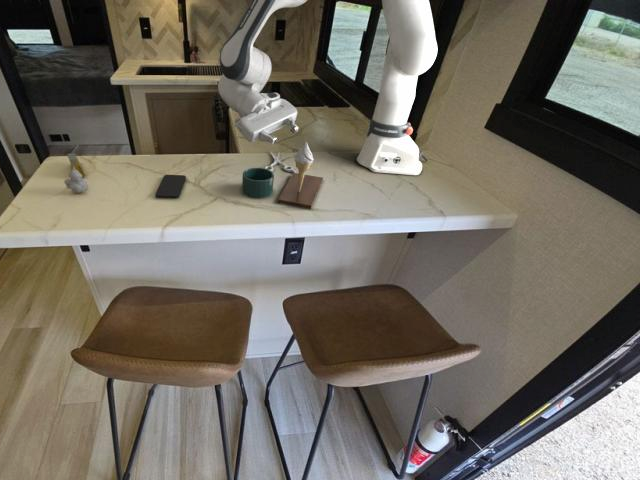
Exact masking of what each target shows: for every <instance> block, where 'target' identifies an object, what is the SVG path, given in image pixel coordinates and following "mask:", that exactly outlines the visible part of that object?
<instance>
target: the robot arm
mask: <svg viewBox="0 0 640 480" xmlns="http://www.w3.org/2000/svg"><path fill="white" fill-rule="evenodd" d="M306 2H308V0H250V1H249V4H248V5H247V7H246V9H245V10H244V13H243V14H242V16H241V17H240V19H239V21H238V22H237V23H238V24H237V25H236V27H235V28H234V30H233V32H232V33H231V34H230V36H229V37H228V38H227V39H226V40H225V41H224V43H223V45H222V47H221V49H220V53H219V66H220V71H221V73H222V75H221V76H220V77H219V79H218V83H217V90H218V94H219V96H220V98H221V99H222V101H223V102H224V103H225V104H226V106H227V107H229V108H230V109H231V110H232V111H234V112H236V113H237V114H238V115H239V117H237V118H235V119H234V122H233V125H234V127H235V128H236V129H237V130H238V131H239V133H240V134H241V135H242V136H243V137H244V139H245V140H246V141H247V142H250V143H254V142H257V141H258V140H261V141H264V142H267V143H269V144H271V145H274V144H276V142H277V136H275V135H274V134H273V133H275V132H276V131H278V130H280V129H282V128H284V127H286V126H287V127H290V129H289V131H290V132H291V133H292V134H295V133H297V132H298V130H299V126H298V125H297V124H296V123H295V122H296V120H297V117H298V110H297V108H296V107H295V105H293V104H292V103H290V102H289V101H287V99H284V98H281V95H280V94H279V93H278V92H269V93H265V92H264V93H263V92H262V91H263V90H264V88H265V87H266V85H267V83H268V82H269V80H270V78H271V75H272V71H273V70H272V68H273V66H272V65H273V64H272V60H271V57H270V56H269V55H268V54H267V53H266V52H264V51H262V50H260V49H259V48H257V47H255V46H254V43H255V42H256V40H257V38H258V36H259V35H260V33H261V31H262V29H263V28H264V26H265V25H266V23H267V22H268V20H269V18H270V16H271V15H273V13H275V12H276V11H277V10H279V9H284V8H297V7H299V6H302V5H303V4H305V3H306ZM381 4H382V5H381V6H382V11H383V18H384V21H385V25H386V29H387V32H388V33H387V34H388V39H389V41H388V44H387V48H386V49H387V50H386V54H385V59H384V64H383V68H382V74H381V80H380V85H379V87H380V88H379V93H378V96H377V100H376V104H375V108H374V111H373V115H372V117H371V118H370V120H369V124H368V126H367V130H366V137H365V141H364V143H363V146H362V148H361V150H360V152H359V154H358V156H357V157H356V161H357V163H358V164H359V165H361V166H363V167H365V168H366V169H369V170H370V171H371V172H373V173H381V174H382V173H383V174H393V175H394V174H395V175H407V176H418V175H420V174H421V172H422V170H423V164H422V162H421V161H420V159H421V158H422V159H423V160H424V161H425V162H428V161H429V158H428V157H427V156H426V155H425V154H424V152H423V151H422V150H421V151H420V149H419V147H418V145H417V144H416V143H415V141H414V140H413V138H412V137H411V135H412V133H413V131H414V129H413V127H412V125H411V123H410V122H408V119H409V116H410V113H411V110H412V108H413V107H412V106H413V104H414V101H415V98H416V89H417V83H418V78H419V76H420V75H422V74H424V73H426V72H427V71H428V70H429V69H430V68H431V67H432V66H433V64H434V62H435V60H436V58H437V55H438V43H437V39H436V38H437V37H436V31H435V25H434V19H433V13H432V9H431V4H430V0H381ZM270 134H271V135H270Z"/></svg>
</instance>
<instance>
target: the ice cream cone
mask: <svg viewBox="0 0 640 480" xmlns="http://www.w3.org/2000/svg"><path fill="white" fill-rule="evenodd" d="M314 159H315V158H314V155H313V153H312V151H311V148H310V147H309V145H308V142H307V140H306V141H305V142H304V144H303V145H302V147H301V148H300V149H299V150H298V151H297V152H296V153H295V155H294V162H295V167H296V168H297V170H298V192H300V190H301V186H302V183H303V179H304V175H306V172H307V170H309V169H310V168H311V165H312V164H313V162H314Z"/></svg>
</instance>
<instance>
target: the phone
mask: <svg viewBox="0 0 640 480" xmlns="http://www.w3.org/2000/svg"><path fill="white" fill-rule="evenodd" d="M186 179H187V175H185V174H184V175H183V174H165V175H163V176H162V178H161V181H160V183H159V185H158V187H157V189H156V191H155V194H154V195H155V198H157V199H178V198H180V197H181V193H182V191H183V188H184V187H185V186H184V185H185V182H186Z"/></svg>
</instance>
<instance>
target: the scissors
mask: <svg viewBox="0 0 640 480" xmlns="http://www.w3.org/2000/svg"><path fill="white" fill-rule="evenodd" d="M269 152H270V154H271V156H272V158H273V160H274V161H273V162H272V163H270V164H269V165H266V166H265V167H264V168H265V169H269V170H270V171H272V172H274V170H275V167H274V166H275V165H277V164H278V165H281V166H283V170H284V171H285V172H288V173H292V174H293V173H297V171H296V170H295V169H294V166H292V165H289V164H286V163H285V162H282V161H281V159H280V156H281V155H280V154H281V151H280V150H278V153H277V155H275V154H274V153H273V152H272V151H271V150H269Z"/></svg>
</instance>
